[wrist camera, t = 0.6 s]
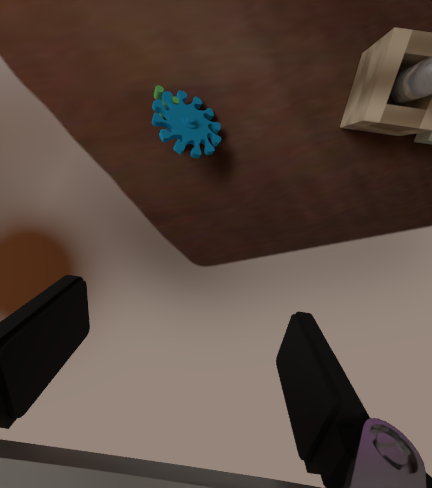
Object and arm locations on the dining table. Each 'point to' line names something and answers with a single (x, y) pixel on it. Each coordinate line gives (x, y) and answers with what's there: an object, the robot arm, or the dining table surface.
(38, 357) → the robot arm
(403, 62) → the socket block
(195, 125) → the gear
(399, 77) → the metal peg
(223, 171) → the dining table surface
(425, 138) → the tray
